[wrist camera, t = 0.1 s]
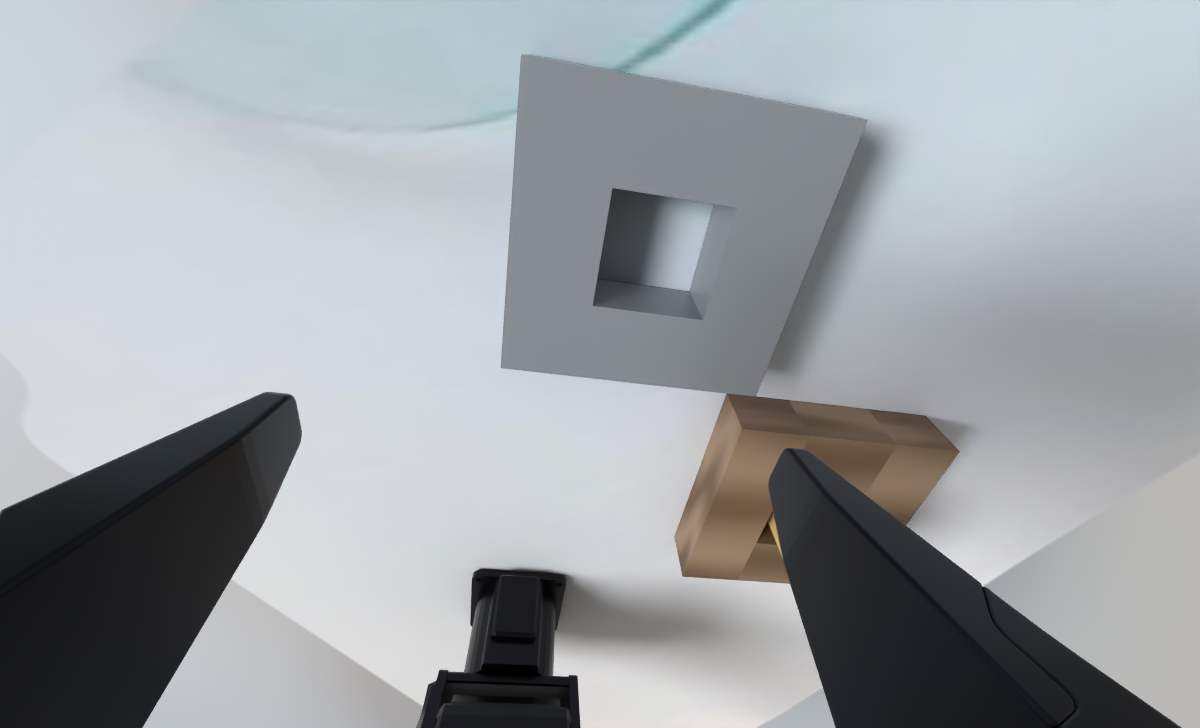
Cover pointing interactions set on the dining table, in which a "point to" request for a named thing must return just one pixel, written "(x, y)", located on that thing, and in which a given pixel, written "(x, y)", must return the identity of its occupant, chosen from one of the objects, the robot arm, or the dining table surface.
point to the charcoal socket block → (673, 169)
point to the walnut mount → (750, 452)
